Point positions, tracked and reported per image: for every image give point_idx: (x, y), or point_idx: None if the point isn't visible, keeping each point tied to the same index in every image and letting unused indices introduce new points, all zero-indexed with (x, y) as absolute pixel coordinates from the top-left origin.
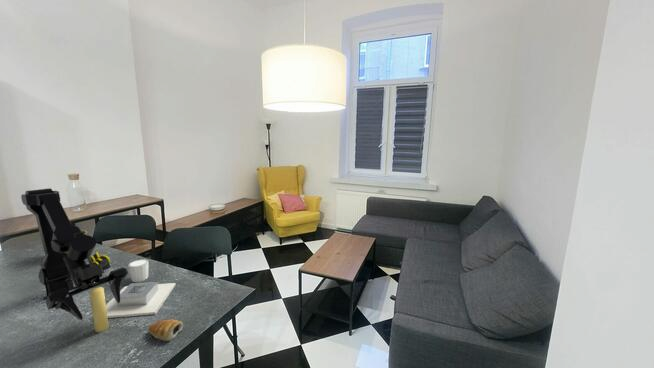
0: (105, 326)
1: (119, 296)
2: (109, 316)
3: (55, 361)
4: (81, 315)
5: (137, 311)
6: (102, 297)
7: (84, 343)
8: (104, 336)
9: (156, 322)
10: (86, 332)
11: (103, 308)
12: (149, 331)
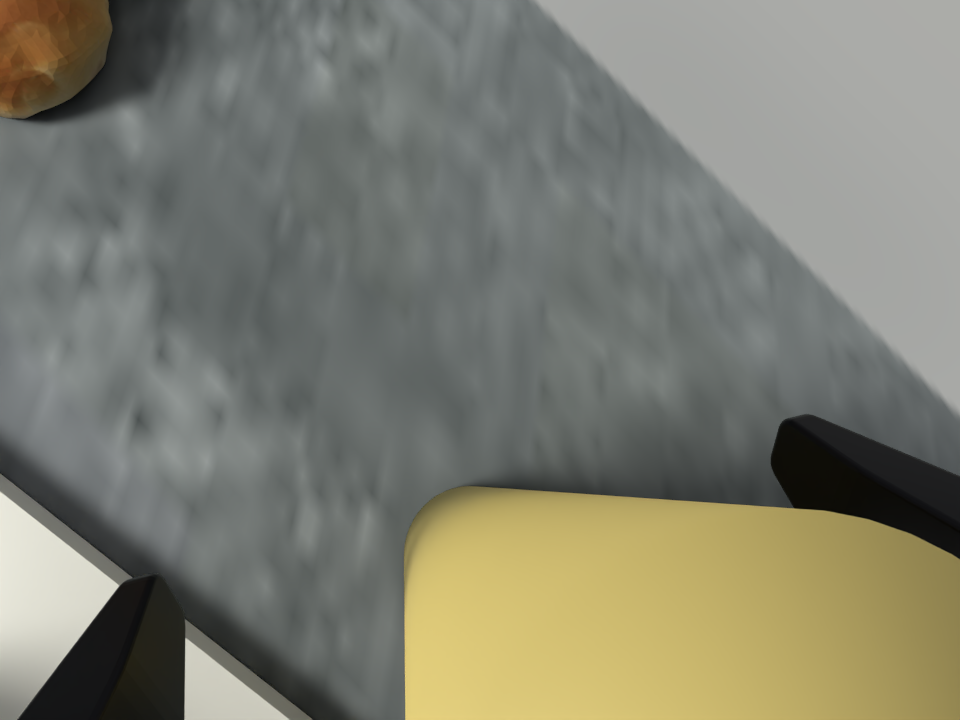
0: (442, 494)
1: (51, 693)
2: None
3: (829, 301)
4: (830, 447)
5: (35, 591)
6: (495, 532)
7: (634, 394)
8: (471, 369)
9: None
10: None
11: (464, 504)
12: (102, 5)
